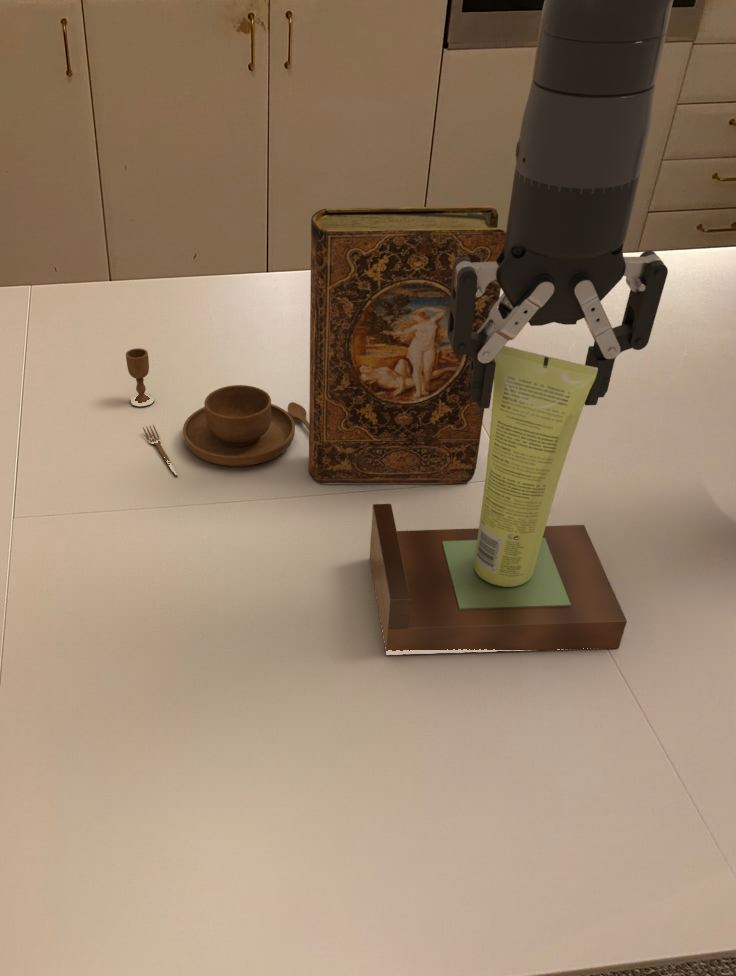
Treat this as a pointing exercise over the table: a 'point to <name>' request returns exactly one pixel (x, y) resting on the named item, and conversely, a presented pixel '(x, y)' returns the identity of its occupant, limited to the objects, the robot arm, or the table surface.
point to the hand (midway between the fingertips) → (534, 401)
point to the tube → (526, 458)
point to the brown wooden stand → (489, 593)
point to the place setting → (229, 421)
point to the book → (393, 344)
